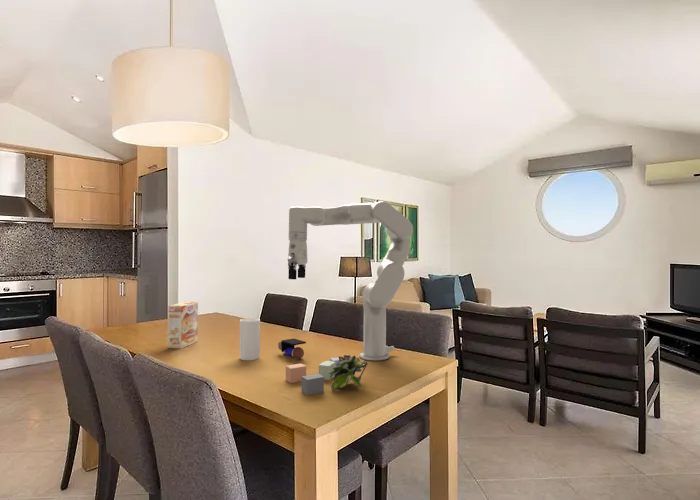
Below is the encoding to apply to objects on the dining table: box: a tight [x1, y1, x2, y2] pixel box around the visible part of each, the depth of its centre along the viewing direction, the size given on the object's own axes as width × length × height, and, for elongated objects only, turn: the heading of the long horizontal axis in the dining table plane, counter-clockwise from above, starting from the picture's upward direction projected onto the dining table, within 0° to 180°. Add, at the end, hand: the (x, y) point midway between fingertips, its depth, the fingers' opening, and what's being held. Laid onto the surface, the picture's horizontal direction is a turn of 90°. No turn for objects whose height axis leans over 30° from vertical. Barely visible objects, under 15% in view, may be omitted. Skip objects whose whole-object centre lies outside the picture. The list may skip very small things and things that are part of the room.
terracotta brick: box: [285, 362, 307, 384], centre depth 149 cm, size 6×4×5 cm, turn 124°
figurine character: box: [277, 338, 307, 360], centre depth 181 cm, size 7×8×15 cm
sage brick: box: [318, 360, 336, 381], centre depth 153 cm, size 6×4×5 cm, turn 159°
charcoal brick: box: [300, 373, 325, 396], centre depth 137 cm, size 6×4×5 cm, turn 124°
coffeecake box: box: [167, 301, 199, 349], centre depth 201 cm, size 15×7×20 cm, turn 171°
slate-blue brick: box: [330, 356, 342, 364], centre depth 159 cm, size 6×4×5 cm, turn 104°
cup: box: [239, 317, 261, 361], centre depth 178 cm, size 8×8×16 cm
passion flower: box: [329, 354, 368, 391], centre depth 142 cm, size 13×12×14 cm
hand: (297, 278), depth 175 cm, fingers open, 9 cm apart
